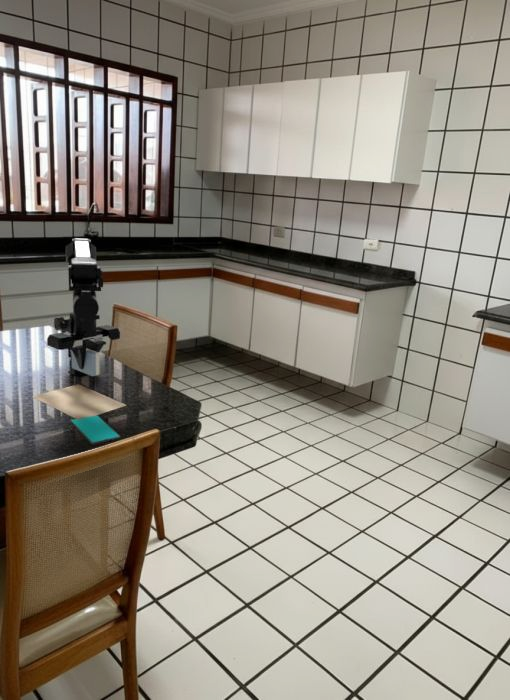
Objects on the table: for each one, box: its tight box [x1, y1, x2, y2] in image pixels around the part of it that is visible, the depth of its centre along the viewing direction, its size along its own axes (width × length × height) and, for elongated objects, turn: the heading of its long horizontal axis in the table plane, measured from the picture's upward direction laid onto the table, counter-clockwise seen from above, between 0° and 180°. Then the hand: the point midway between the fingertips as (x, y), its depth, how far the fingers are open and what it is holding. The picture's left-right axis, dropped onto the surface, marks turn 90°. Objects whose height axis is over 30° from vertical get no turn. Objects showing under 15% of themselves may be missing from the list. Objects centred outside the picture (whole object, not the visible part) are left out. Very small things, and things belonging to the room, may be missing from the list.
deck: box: [70, 348, 100, 377], centre depth 142 cm, size 2×9×6 cm, turn 52°
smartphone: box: [69, 415, 122, 446], centre depth 132 cm, size 7×1×15 cm
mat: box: [31, 383, 127, 420], centre depth 148 cm, size 15×22×1 cm
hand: (85, 368), depth 142 cm, fingers closed on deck, 2 cm apart
